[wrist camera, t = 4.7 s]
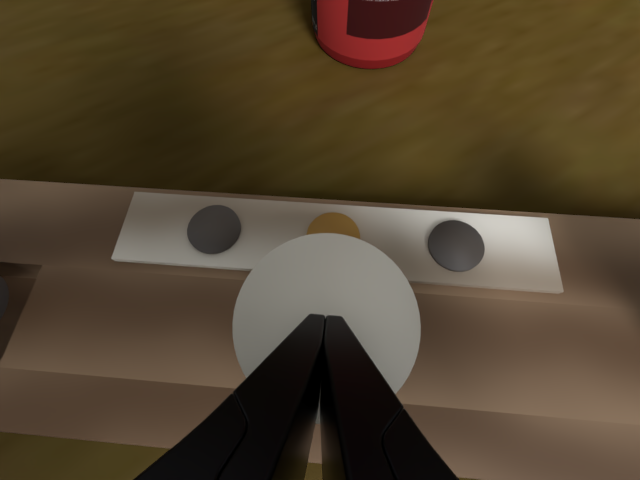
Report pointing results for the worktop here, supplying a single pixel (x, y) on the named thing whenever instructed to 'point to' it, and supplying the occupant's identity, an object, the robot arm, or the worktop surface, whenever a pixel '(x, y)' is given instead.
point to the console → (274, 230)
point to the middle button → (329, 302)
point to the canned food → (369, 30)
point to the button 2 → (3, 296)
